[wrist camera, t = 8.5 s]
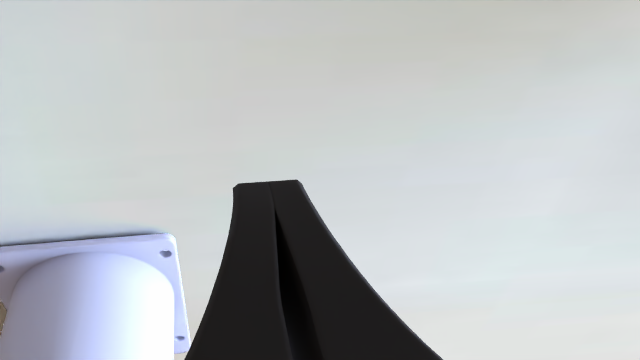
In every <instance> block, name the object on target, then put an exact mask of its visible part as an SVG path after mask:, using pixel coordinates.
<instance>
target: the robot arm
mask: <svg viewBox="0 0 640 360" xmlns="http://www.w3.org/2000/svg"><path fill="white" fill-rule="evenodd" d="M163 250H168V251H163ZM0 299H1V301H2V303H3V305H4V307H5V309H6V310H7V314H6V318H5V321H4V325H3V329H2V332H1V336H0V360H174V354H178V353H184V352H187V351H188V350H189V351H188V353H187V355H186V358H185V360H443V359H442V358H441V357H440V356H439V355H437V354H436V353H435V352H434V351H433V350H432V349H431V348H430V347H428V346H427V345H426V344H425V343H424V342H423V341H422V340H421V339H420V338H419V337H418V336H417V335H416V334H415V333H414V332H413V331H412V330H411V329H410V328H409V327H408V326H407V325H406V324H405V323H404V322H403V321H402V320H401V319H400V318H399V317H398V316H397V314H396V313H395V312H394V311H393V310H392V309H391V308H390V307H389V306H388V305H387V304H386V303H385V301H384V300H383V299H382V298H381V297H380V296H379V295H378V293H377V292H376V291H375V290H374V289H373V288H372V286H371V285H370V284H369V283H368V282H367V280H366V279H365V278H364V277H363V275H362V274H361V273H360V272H359V271H358V269H357V268H356V267H355V265H354V264H353V263H352V261H351V260H350V259H349V257H348V256H347V255H346V253H345V252H344V251H343V249H342V248H341V246H340V245H339V244H338V242H337V241H336V239H335V238H334V237H333V235H332V234H331V232H330V231H329V229H328V228H327V226H326V225H325V223H324V222H323V220H322V218H321V217H320V215H319V214H318V212H317V210H316V209H315V207H314V205H313V204H312V202H311V200H310V199H309V197H308V195H307V193H306V191H305V189H304V187H303V185H302V183H300V182H299V181H298V180H285V181H270V182H255V183H240V184H237V185H236V186H235V187H234V188H233V211H232V219H231V224H230V230H229V235H228V239H227V243H226V247H225V251H224V255H223V259H222V262H221V266H220V269H219V272H218V275H217V278H216V281H215V284H214V287H213V290H212V293H211V296H210V299H209V302H208V305H207V308H206V310H205V313H204V315H203V318H202V321H201V323H200V326H199V328H198V330H197V333H196V335H195V337H194V340H193V342H192V344H191V341H190V334H189V327H188V320H187V314H186V307H185V300H184V293H183V287H182V280H181V273H180V266H179V260H178V253H177V246H176V240H175V238H174V237H173V236H172V235H170V234H167V233H161V234H149V235H136V236H124V237H112V238H100V239H88V240H76V241H63V242H51V243H39V244H27V245H15V246H3V247H0Z"/></svg>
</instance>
